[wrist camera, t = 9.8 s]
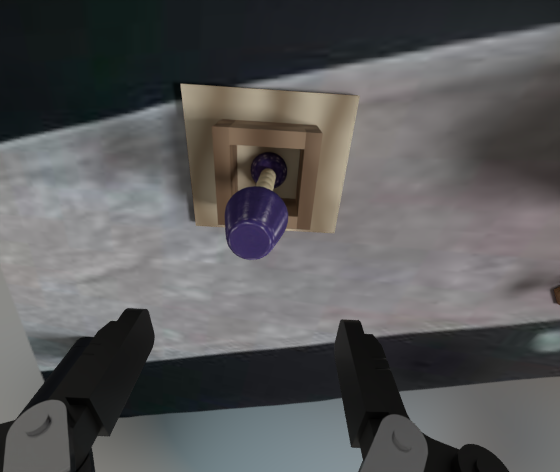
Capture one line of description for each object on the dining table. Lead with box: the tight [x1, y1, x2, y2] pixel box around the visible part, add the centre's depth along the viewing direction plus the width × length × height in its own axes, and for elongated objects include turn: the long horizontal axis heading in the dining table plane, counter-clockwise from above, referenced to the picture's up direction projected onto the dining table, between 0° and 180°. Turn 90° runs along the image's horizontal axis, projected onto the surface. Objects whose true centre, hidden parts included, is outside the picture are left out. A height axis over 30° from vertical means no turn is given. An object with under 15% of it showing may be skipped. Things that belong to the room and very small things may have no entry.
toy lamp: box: [225, 152, 288, 260], centre depth 24 cm, size 5×5×17 cm
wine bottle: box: [16, 337, 93, 420], centre depth 36 cm, size 6×6×30 cm
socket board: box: [181, 84, 360, 233], centre depth 29 cm, size 18×16×6 cm
